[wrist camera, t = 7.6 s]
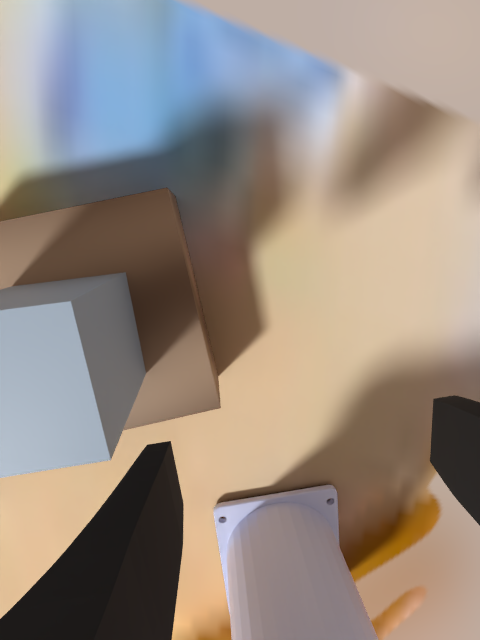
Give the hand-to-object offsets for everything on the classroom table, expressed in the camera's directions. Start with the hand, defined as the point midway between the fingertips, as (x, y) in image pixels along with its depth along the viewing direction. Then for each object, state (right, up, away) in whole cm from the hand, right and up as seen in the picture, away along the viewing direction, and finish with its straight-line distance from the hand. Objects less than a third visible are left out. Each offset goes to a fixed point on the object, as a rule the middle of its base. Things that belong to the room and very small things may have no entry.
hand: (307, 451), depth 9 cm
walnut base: (-9, +4, +9) cm, 14 cm away
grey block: (-9, +3, +5) cm, 11 cm away
